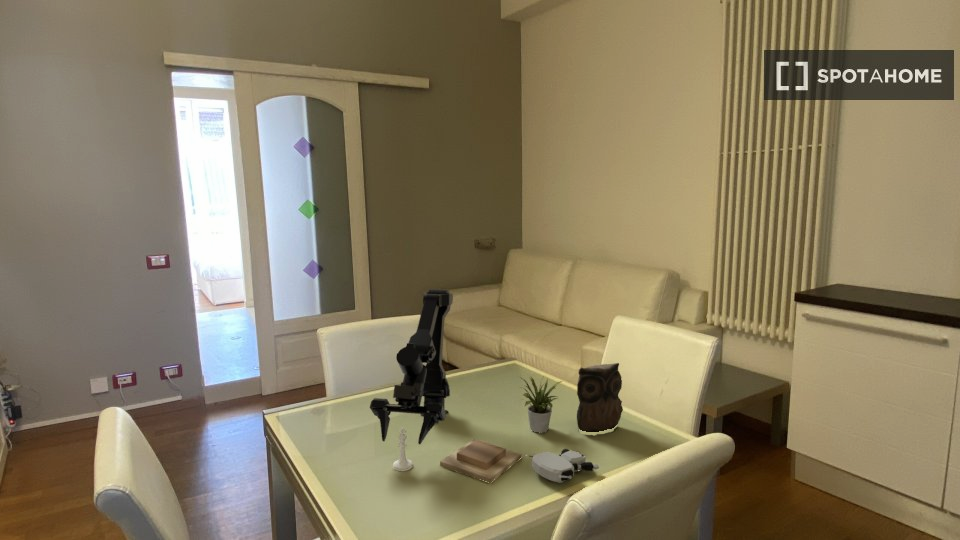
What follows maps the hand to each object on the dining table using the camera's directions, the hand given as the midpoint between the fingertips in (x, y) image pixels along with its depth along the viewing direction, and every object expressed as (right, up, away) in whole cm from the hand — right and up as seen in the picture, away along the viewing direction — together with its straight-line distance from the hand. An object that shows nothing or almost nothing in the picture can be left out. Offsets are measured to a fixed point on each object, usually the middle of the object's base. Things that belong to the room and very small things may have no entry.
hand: (401, 442), depth 129 cm
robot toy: (+40, -8, 0) cm, 40 cm away
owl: (+54, -4, +26) cm, 60 cm away
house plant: (+35, -4, +24) cm, 43 cm away
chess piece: (0, -7, +2) cm, 7 cm away
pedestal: (+20, -7, +5) cm, 21 cm away
